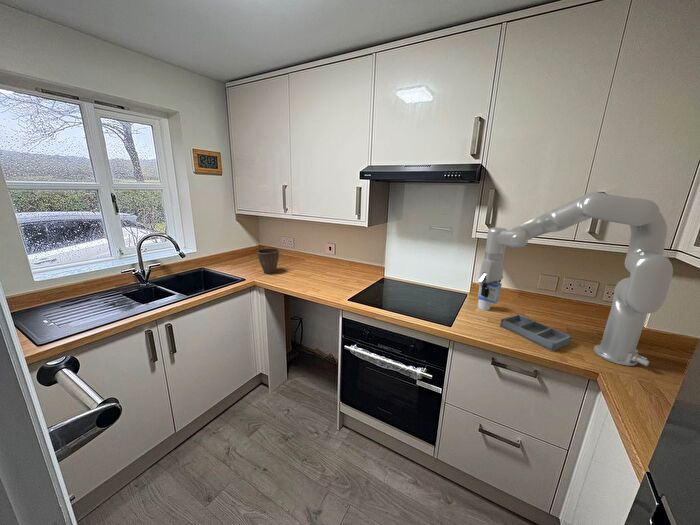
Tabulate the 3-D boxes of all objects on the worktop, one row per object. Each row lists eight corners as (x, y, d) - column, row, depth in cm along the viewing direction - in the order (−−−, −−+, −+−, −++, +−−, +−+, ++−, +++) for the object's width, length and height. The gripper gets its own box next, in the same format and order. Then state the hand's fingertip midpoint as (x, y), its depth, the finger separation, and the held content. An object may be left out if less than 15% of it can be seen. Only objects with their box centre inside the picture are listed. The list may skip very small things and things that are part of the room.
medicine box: (477, 298, 130) (479, 281, 128) (481, 296, 133) (483, 278, 131) (495, 304, 124) (498, 285, 122) (499, 301, 127) (501, 282, 125)
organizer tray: (569, 343, 118) (571, 336, 117) (553, 351, 112) (554, 343, 111) (516, 320, 137) (518, 313, 136) (500, 326, 131) (501, 319, 130)
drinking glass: (491, 307, 151) (494, 289, 148) (490, 311, 145) (493, 293, 143) (477, 304, 154) (480, 287, 151) (476, 309, 149) (478, 291, 146)
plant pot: (255, 275, 196) (253, 253, 192) (262, 269, 211) (261, 248, 206) (277, 275, 196) (275, 253, 192) (282, 269, 210) (281, 248, 206)
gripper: (499, 252, 130) (493, 289, 135) (473, 256, 122) (469, 295, 127) (514, 255, 124) (508, 294, 129) (488, 260, 116) (483, 301, 121)
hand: (489, 294), depth 128 cm, fingers closed on medicine box, 5 cm apart
